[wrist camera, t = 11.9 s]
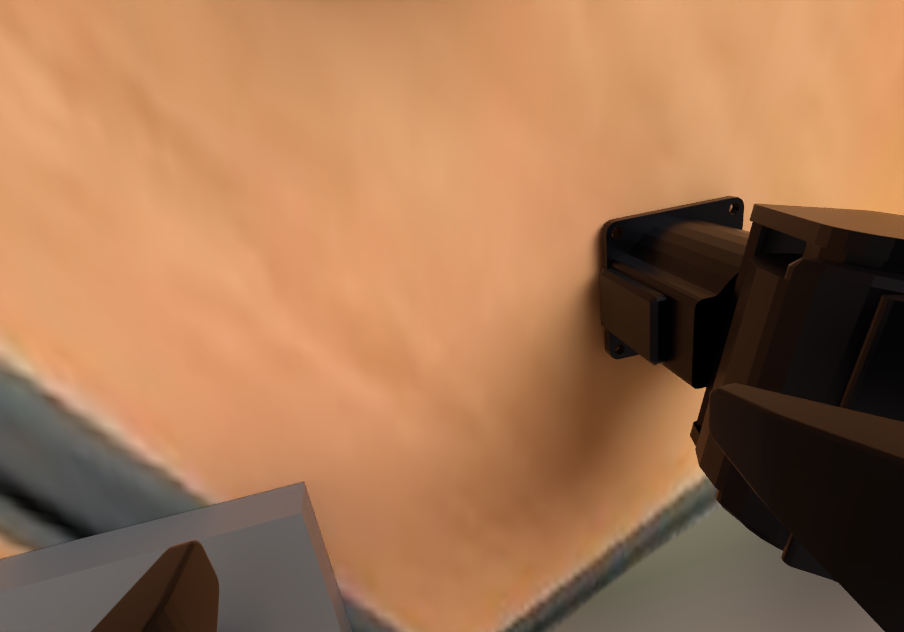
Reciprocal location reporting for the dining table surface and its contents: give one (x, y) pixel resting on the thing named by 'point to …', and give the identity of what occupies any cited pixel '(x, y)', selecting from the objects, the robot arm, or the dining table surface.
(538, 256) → the dining table surface
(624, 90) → the dining table surface
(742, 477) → the robot arm
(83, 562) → the stand
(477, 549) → the dining table surface
